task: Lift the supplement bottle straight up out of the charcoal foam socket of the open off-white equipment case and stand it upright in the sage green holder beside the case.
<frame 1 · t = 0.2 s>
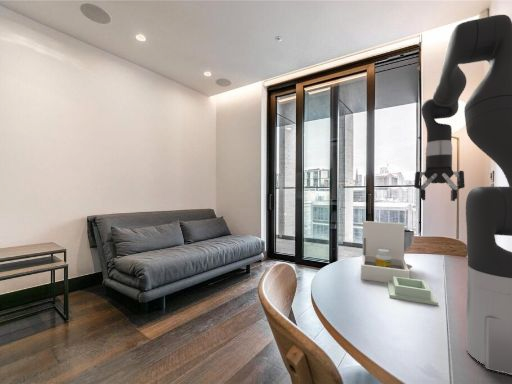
hand: (437, 200, 88), 29 cm above the table, tool pointing down, fingers open, 8 cm apart
sage holder: (410, 293, 78), on the table
wine glass: (402, 265, 106), on the table
supplement bottle: (383, 275, 94), resting in equipment case
equipment case: (383, 274, 94), on the table
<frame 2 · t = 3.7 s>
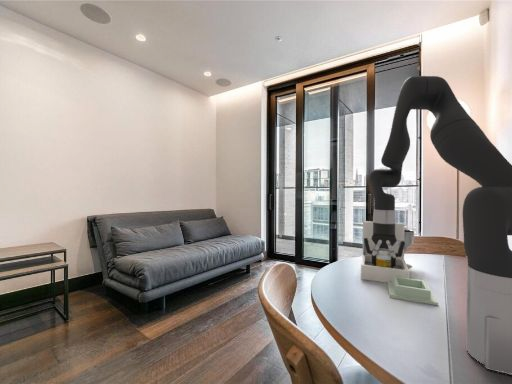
hand: (383, 265, 94), 3 cm above the table, tool pointing down, fingers closed on supplement bottle, 5 cm apart
supplement bottle: (383, 275, 94), resting in equipment case, touching gripper
everything else where it was.
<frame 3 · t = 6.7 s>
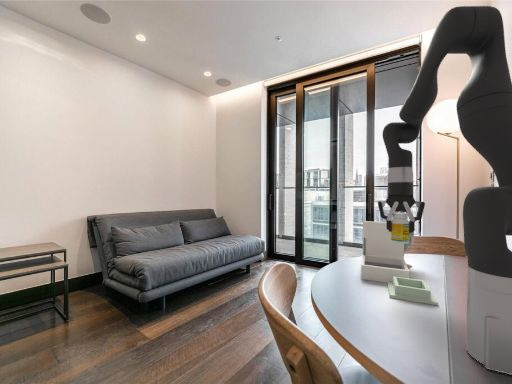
hand: (400, 231, 83), 18 cm above the table, tool pointing down, fingers closed on supplement bottle, 5 cm apart
supplement bottle: (400, 242, 83), point 15 cm above the table, touching gripper
everything else where it was.
when the fingers open (6 cm above the table, at t = 9.8 s): supplement bottle drops 1 cm, resting on sage holder.
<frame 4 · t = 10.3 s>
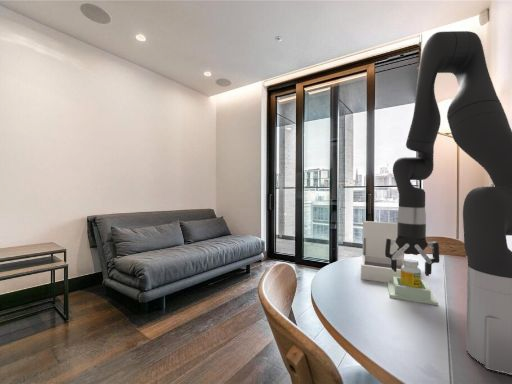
hand: (410, 273, 78), 6 cm above the table, tool pointing down, fingers open, 8 cm apart
supplement bottle: (410, 291, 78), point 1 cm above the table, touching sage holder
everything else where it was.
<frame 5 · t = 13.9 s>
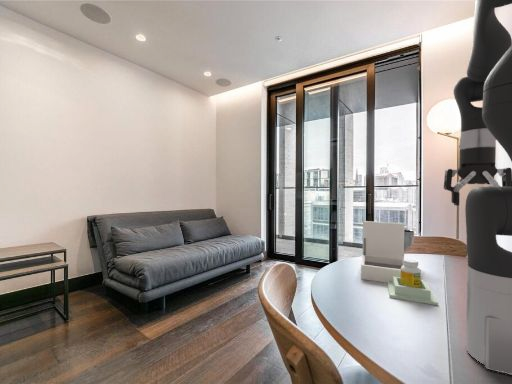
hand: (475, 206, 69), 28 cm above the table, tool pointing down, fingers open, 8 cm apart
nothing on the table moved.
at the end: supplement bottle 0.1 cm off-centre on the sage holder, point 0.6 cm above the sage holder's base; supplement bottle tilted 0°; the gripper is holding nothing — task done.
